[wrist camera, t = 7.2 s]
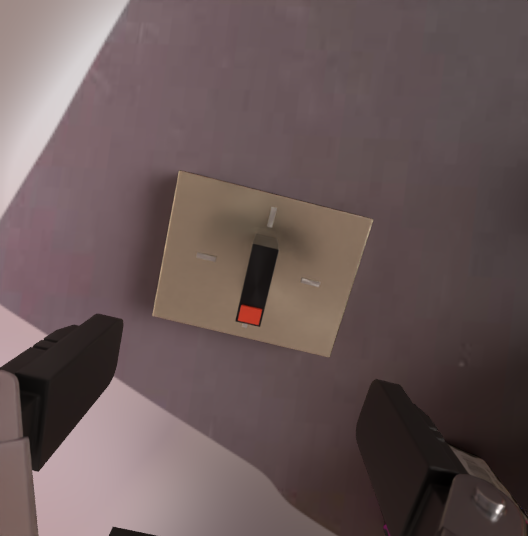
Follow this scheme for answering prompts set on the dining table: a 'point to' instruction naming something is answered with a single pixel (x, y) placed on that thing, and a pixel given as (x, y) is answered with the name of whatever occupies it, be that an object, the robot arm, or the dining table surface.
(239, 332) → the lever switch base
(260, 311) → the red-tipped black block
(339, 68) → the dining table surface
